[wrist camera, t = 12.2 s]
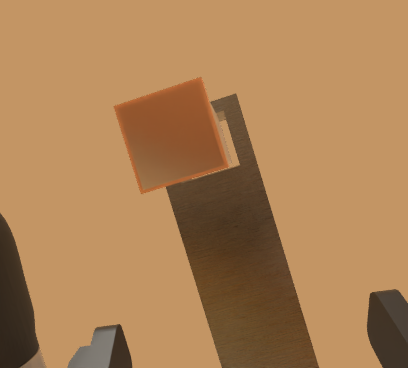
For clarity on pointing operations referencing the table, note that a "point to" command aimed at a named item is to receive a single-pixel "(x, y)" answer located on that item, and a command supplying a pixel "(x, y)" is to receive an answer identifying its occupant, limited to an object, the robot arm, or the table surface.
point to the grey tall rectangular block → (241, 260)
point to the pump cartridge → (172, 135)
